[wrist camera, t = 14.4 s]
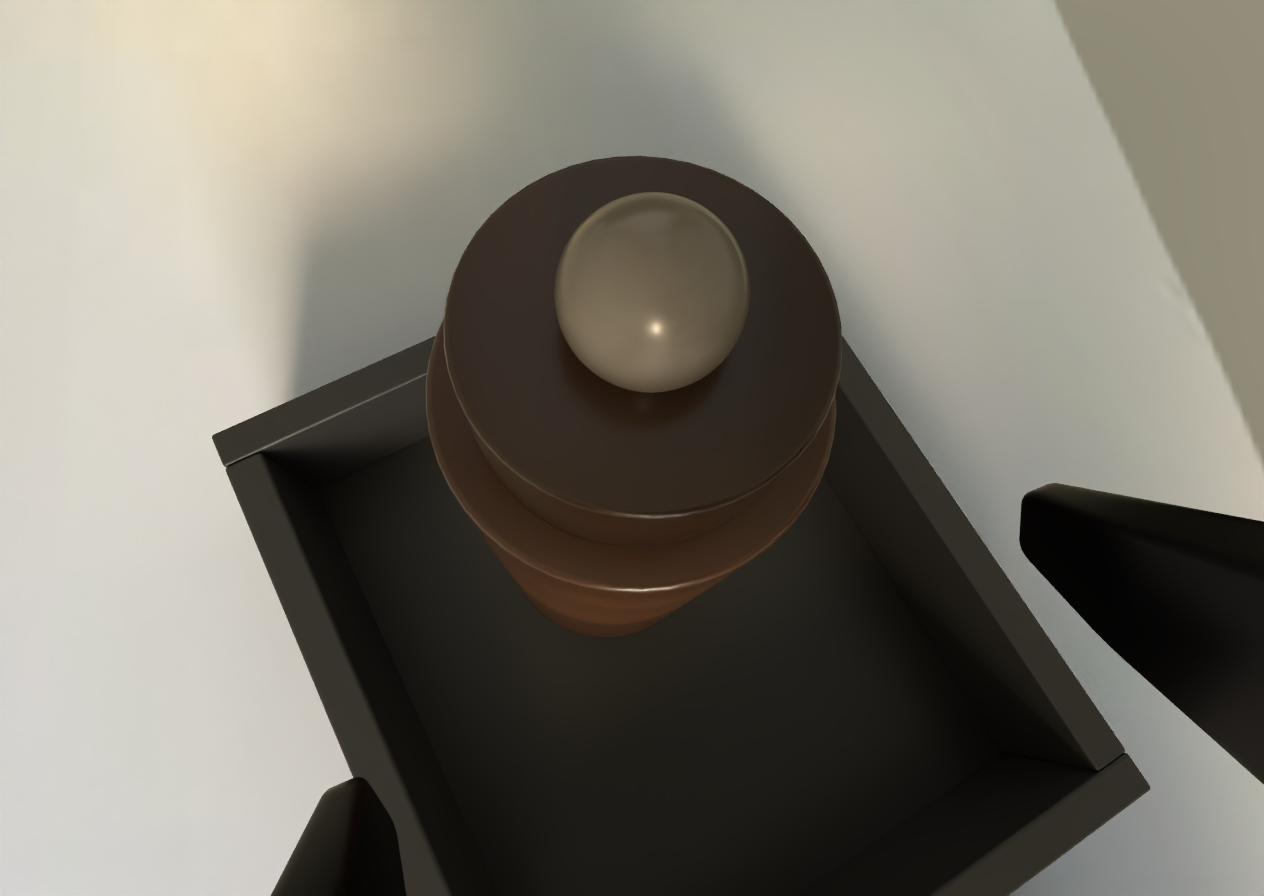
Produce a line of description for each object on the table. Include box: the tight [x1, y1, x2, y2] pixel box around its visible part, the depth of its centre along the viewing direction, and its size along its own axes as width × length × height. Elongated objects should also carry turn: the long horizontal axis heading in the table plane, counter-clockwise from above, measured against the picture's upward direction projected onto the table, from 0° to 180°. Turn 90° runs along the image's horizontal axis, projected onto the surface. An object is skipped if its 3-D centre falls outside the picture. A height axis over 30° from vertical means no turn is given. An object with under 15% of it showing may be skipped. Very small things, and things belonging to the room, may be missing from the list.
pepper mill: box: [426, 156, 842, 637], centre depth 12 cm, size 5×5×14 cm
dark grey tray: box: [212, 336, 1150, 896], centre depth 17 cm, size 16×14×4 cm
